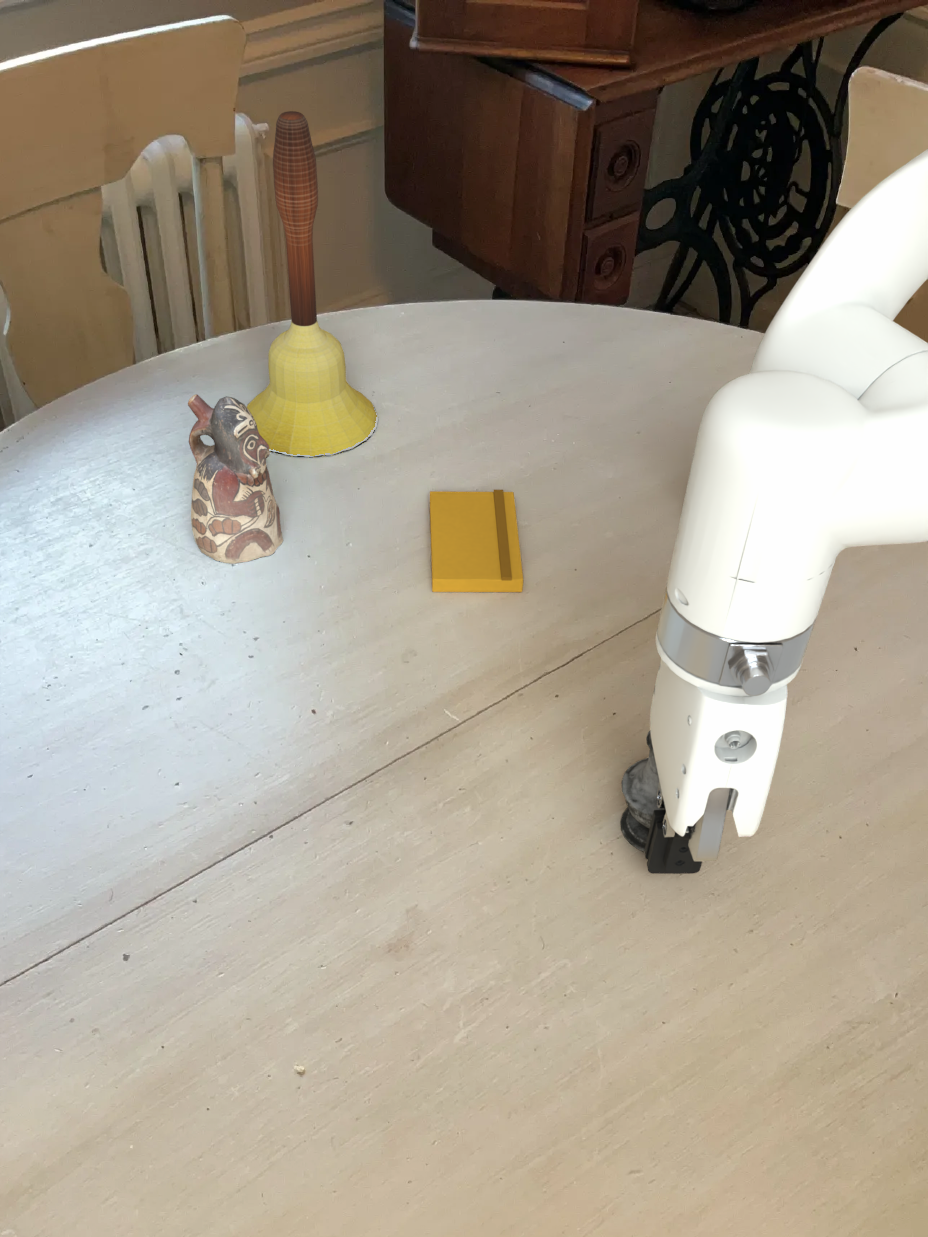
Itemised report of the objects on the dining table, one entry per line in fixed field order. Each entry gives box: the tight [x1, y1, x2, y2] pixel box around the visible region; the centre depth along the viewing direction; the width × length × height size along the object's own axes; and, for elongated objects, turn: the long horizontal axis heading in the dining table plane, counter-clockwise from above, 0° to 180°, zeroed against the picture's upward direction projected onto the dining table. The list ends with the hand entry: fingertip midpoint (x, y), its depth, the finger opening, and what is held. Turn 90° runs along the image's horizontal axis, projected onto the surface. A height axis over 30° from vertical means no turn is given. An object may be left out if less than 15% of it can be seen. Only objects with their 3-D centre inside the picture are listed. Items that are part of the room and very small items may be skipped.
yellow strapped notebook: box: [429, 489, 524, 593], centre depth 101 cm, size 12×7×1 cm, turn 2°
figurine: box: [187, 394, 284, 565], centre depth 97 cm, size 7×7×12 cm
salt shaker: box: [620, 730, 664, 853], centre depth 78 cm, size 6×6×12 cm
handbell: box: [246, 110, 378, 456], centre depth 104 cm, size 12×12×25 cm
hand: (671, 863), depth 77 cm, fingers closed
